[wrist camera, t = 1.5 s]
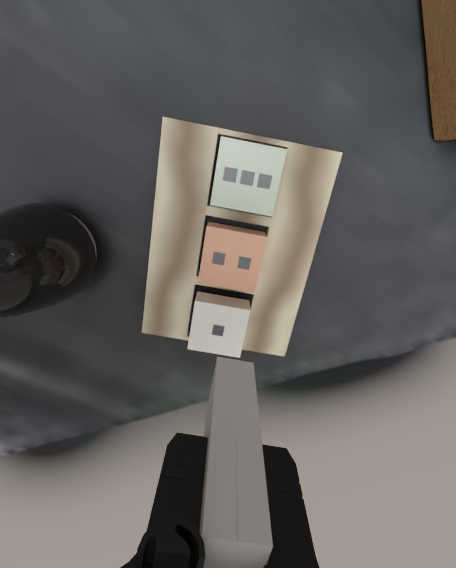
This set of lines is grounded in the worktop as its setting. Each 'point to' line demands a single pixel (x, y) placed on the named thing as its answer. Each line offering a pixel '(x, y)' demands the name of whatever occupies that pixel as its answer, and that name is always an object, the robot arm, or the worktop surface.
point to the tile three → (247, 176)
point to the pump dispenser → (42, 258)
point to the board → (194, 207)
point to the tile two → (231, 257)
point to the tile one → (218, 324)
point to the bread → (441, 65)
